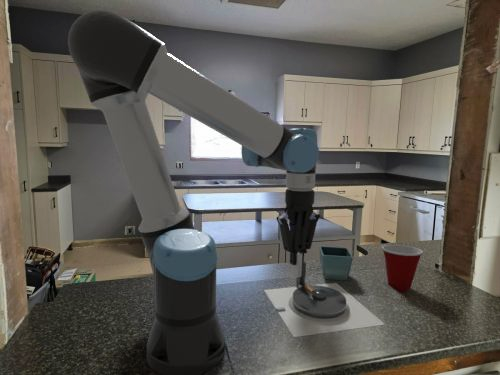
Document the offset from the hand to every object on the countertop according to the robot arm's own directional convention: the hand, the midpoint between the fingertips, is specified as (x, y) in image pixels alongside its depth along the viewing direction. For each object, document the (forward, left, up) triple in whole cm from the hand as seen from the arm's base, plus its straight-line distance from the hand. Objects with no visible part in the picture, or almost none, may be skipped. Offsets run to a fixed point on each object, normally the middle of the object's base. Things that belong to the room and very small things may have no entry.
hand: (296, 275), depth 87 cm
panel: (+3, -8, -6) cm, 10 cm away
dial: (+3, -6, -4) cm, 8 cm away
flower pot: (+16, +8, -6) cm, 19 cm away
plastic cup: (+32, -1, -6) cm, 32 cm away
